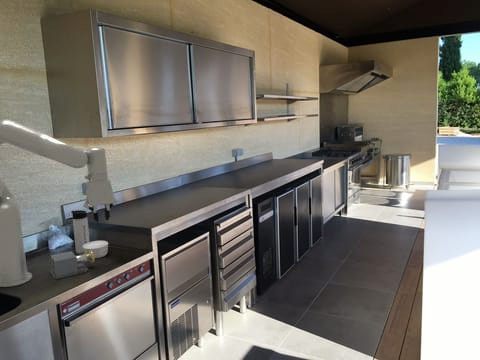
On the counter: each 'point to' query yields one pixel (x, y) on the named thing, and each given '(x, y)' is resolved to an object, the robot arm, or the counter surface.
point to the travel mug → (80, 229)
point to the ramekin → (96, 248)
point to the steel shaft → (86, 257)
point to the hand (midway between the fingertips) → (101, 220)
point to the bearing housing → (66, 265)
